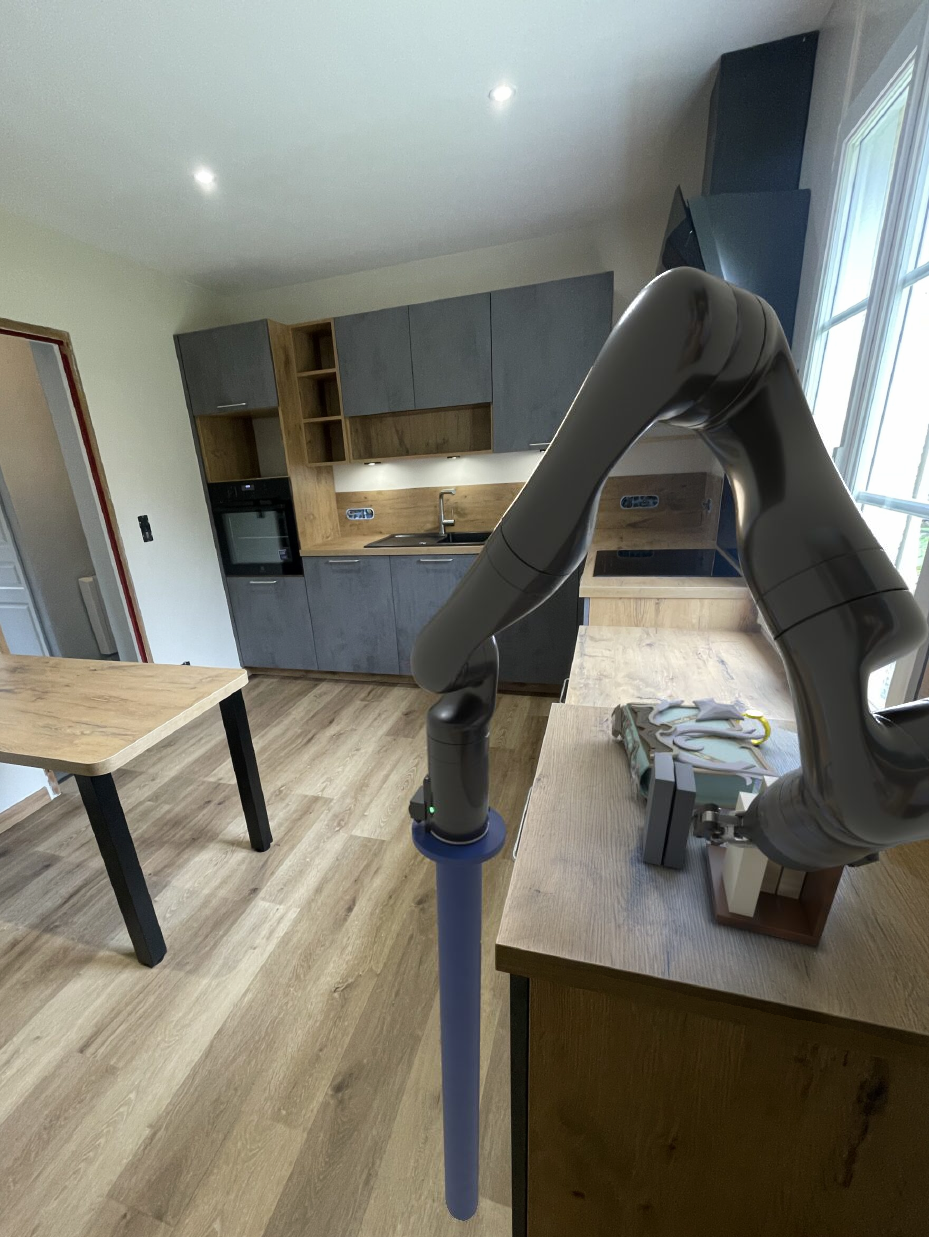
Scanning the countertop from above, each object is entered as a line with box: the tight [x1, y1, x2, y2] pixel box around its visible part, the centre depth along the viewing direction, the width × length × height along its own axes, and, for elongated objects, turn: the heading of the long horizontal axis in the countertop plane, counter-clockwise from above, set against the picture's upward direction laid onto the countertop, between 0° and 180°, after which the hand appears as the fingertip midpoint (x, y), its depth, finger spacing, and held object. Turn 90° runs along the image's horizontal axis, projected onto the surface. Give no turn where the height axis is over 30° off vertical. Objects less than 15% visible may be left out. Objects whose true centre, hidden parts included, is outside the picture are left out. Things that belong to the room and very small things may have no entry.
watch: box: [736, 709, 772, 746], centre depth 99 cm, size 6×3×6 cm, turn 32°
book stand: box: [704, 776, 846, 948], centre depth 63 cm, size 10×13×13 cm
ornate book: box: [610, 696, 782, 817], centre depth 89 cm, size 23×10×30 cm
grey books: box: [642, 752, 696, 870], centre depth 71 cm, size 5×7×13 cm
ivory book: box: [722, 792, 768, 917], centre depth 62 cm, size 2×7×12 cm, turn 159°
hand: (758, 844), depth 57 cm, fingers open, 8 cm apart
